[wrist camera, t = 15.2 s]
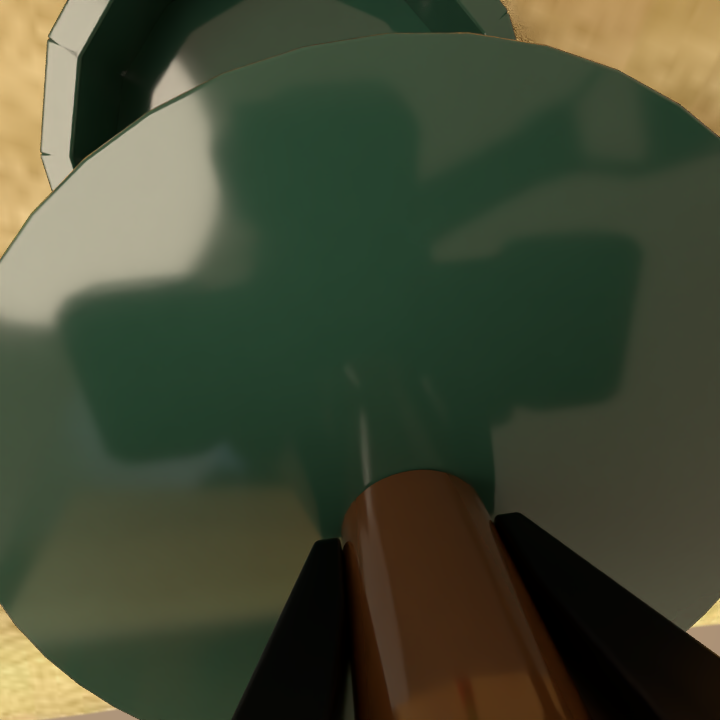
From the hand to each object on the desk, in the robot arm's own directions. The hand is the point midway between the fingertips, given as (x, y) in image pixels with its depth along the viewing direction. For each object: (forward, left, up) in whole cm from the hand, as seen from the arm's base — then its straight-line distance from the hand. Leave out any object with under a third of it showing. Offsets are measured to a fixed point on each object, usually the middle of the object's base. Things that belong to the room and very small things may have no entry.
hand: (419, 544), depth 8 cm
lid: (0, 0, -1) cm, 1 cm away
